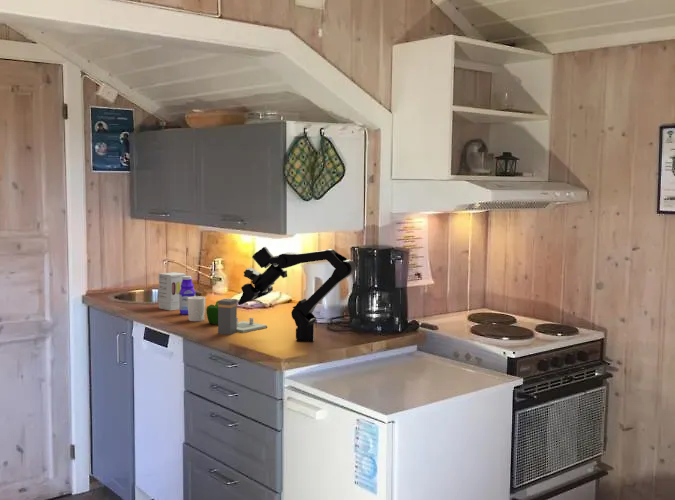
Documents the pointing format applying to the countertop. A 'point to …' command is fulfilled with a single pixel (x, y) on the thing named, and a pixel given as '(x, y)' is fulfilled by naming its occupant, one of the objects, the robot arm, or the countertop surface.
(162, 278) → the supplement box
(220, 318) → the plug block
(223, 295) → the countertop surface
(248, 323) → the board
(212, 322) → the bell pepper
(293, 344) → the countertop surface
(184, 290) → the bottle
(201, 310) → the white cup
